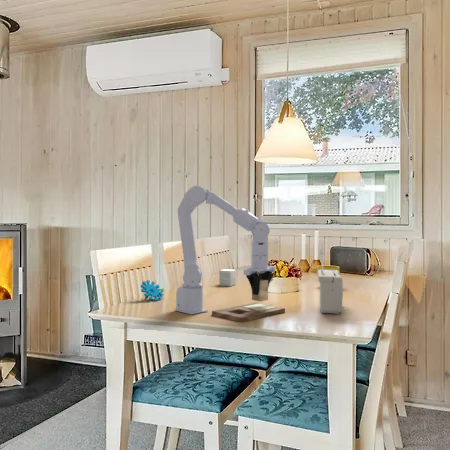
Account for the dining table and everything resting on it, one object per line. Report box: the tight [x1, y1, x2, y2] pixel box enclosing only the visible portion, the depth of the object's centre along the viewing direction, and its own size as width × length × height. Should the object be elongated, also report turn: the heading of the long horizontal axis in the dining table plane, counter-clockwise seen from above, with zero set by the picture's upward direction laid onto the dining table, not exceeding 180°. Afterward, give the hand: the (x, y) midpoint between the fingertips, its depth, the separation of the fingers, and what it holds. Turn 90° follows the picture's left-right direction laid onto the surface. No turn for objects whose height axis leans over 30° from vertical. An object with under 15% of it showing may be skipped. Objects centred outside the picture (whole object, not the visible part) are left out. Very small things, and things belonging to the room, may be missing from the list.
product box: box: [218, 268, 237, 287], centre depth 231 cm, size 6×6×7 cm
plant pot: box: [316, 264, 341, 283], centre depth 226 cm, size 10×10×10 cm
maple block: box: [251, 279, 269, 302], centre depth 172 cm, size 4×4×7 cm
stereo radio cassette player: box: [317, 251, 344, 315], centre depth 178 cm, size 21×8×20 cm, turn 170°
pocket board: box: [211, 302, 286, 323], centre depth 168 cm, size 14×22×2 cm, turn 134°
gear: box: [139, 279, 165, 302], centre depth 194 cm, size 11×6×10 cm
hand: (259, 293), depth 172 cm, fingers closed on maple block, 4 cm apart
